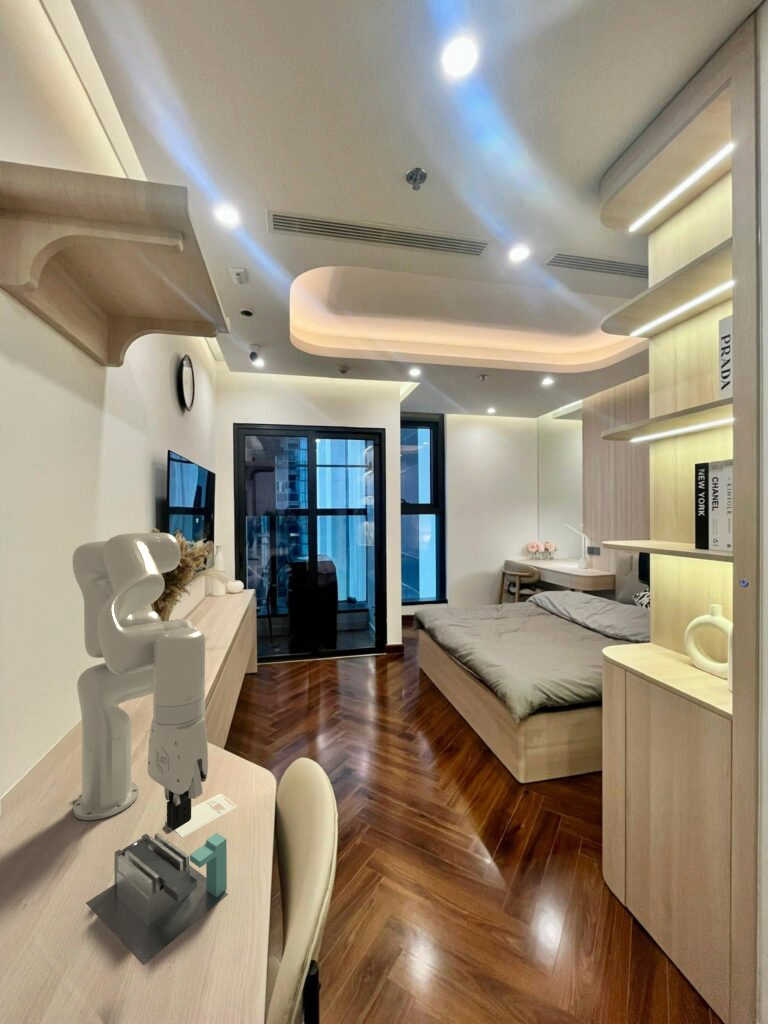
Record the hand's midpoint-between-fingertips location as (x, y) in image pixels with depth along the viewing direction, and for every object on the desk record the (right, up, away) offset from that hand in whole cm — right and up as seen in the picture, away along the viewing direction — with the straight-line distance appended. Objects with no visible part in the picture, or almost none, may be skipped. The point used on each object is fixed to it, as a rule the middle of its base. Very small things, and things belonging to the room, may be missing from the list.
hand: (179, 823), depth 70 cm
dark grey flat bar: (-5, -10, +3) cm, 12 cm away
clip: (+3, -15, +3) cm, 15 cm away
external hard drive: (-6, -17, +24) cm, 30 cm away
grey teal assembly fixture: (-5, -16, +3) cm, 17 cm away
